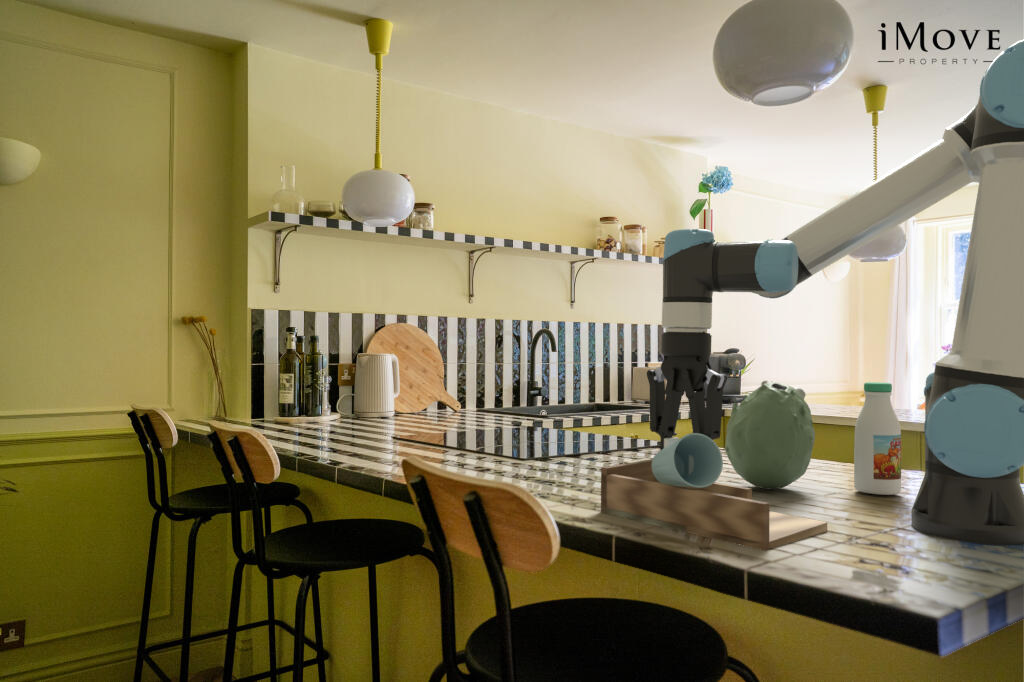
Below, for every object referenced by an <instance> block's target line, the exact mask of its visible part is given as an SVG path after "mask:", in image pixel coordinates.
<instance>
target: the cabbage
mask: <svg viewBox="0 0 1024 682" xmlns="http://www.w3.org/2000/svg"><path fill="white" fill-rule="evenodd" d="M760 383H761V384H760V386H759V387H757V388H756V389H755V390H753V391H752V392H751V393H749V394H744V399H743V400H741V401H740V404H739V405H738V404H737V402H736V401H734V402H733V403H734V404H732V407H731V412H730V418H729V420H728V422H727V426H726V436H725V446H724V450H725V454H726V456H727V459H728V460H729V462H730V465H731V467H732V468H733V470H734V472H736V474H738V475H739V476H740V477H741V478H742V479H743V480H744V481H746V482H747V483H749V484H751V485H752V486H755V487H758V488H761V489H764V490H771V489H783V488H785V487H787V486H790V485H791V484H792V483H795V482H796V481H798V480H799V479H800V478H801V477H802V476H804V475H805V474H806V471H807V469H808V468H809V465H810V462H811V458H812V454H813V453H812V452H813V448H814V445H815V439H816V432H815V429H814V425H813V417H812V413H811V412H812V411H811V409H810V407H809V405H808V403H807V402H806V400H805V397H806V392H805V391H804V389H802V388H800V387H798V386H796V387H792V386H791V385H789V384H782V383H780V382H774V381H772V380H769V379H767V380H763V381H762V382H760Z"/></svg>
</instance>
